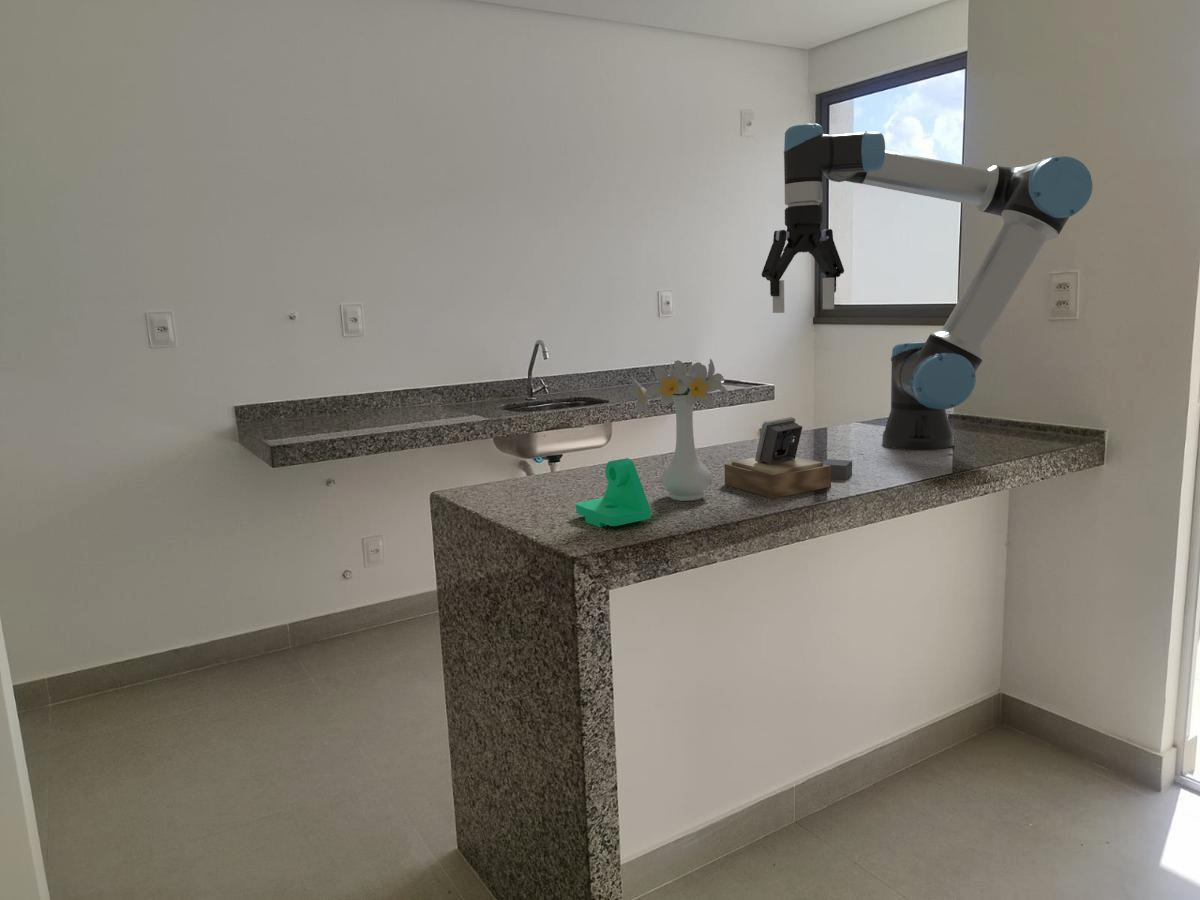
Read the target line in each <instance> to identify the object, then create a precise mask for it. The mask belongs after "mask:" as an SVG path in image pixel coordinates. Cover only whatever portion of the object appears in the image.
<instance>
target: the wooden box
mask: <svg viewBox="0 0 1200 900" xmlns="http://www.w3.org/2000/svg"><path fill="white" fill-rule="evenodd" d="M776 460H779V459H776ZM823 462H824V461H823ZM823 462H822V461H818V460H815V459H814V460H813V459H808V458H805V457H799V456H796V457H795V460H790V461H786V462H782V463H777V464H773V465H769V464H768V463H765V462H762V463H758V462H756V461H755V457H748V458H744V459H738V460H732V461H731V462H730V463H725V464H724V486H729V487H732V488H736V489H737V490H742V491H745V492H748V493H752V494H755V495H760V496H763V497H766V498H770V499H776V498H782V497H786V496H787V497H788V496H792V495H797V494H801V493H806V492H811V491H812V492H813V491H817V490H822V489H826V488H831V487H832V479H831V466H830V465H825V464H823Z"/></svg>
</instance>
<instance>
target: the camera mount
mask: <svg viewBox="0 0 1200 900" xmlns="http://www.w3.org/2000/svg"><path fill="white" fill-rule="evenodd" d="M605 478H606V480H607V487H606V490H605V492H604V496H603V497H599V498H596V499H589V500H584V501H579V502H576V503H575V513H576V514H578V515H581V516H583V517H584V521H585V523H587V524H590V525H592V524H593V525H592V526H595V525H596V526H595V527H597V526H598V527H597V528H603V527H602V526H605V527H618V526H622V525H627V524H631V523H636V522H640V521H646V520H650V519H652V509H651V507H650V504H649V501H648V499H647V495H646V492H645V489H644V487H643V485H642V481H641V479H640V476H639V474H638V471H637V468H636V466H635V463H634V462H633V460H632V459H630V458H628V457H627V458H626V457H625V458H621V459H616V460H609V461H608V462H607V463H606V465H605ZM607 525H609V526H607Z"/></svg>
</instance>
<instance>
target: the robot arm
mask: <svg viewBox="0 0 1200 900" xmlns="http://www.w3.org/2000/svg"><path fill="white" fill-rule="evenodd" d="M783 166H784V167H783V168H784V169H783V170H784V205H786V206H787V207H785V209H784V225H785V226H786V229H779V230H774V232H773V237H772V238H773V239H772V240H773V241H772V244H771V247H770V250H769V252H768V255H767V259H766V260H765V263H764V265H763V268H762V272H761V277H762V278H766V280H767V281H768V282H769V288H770V289H769V290H770V292H769V294H770V297H772V314H774V313H775V314H784V313H785V280H784V279H782V277H783V276H784V274H785V272H786V270H787V269H788V267H789V266H790V263H791V262H792V261H793V260H794V257H795V256H796V255H797V254H799V253H809V254H810V255H811V256H812V257H813V258H814V260H815V262H816V264H817V265H818V267H819V268H820V270H821V271H822V273H823V275H825V277H823V278H822V310H835V293H836V292H837V278H840V277H841V275H842V274H845V273H844V272H845V269H844V265H843V262H842V260H841V257H840V254H839V252H838V249H837V246H836V244H835V241H834V235H833V229H831V228H828V229H821V225H822V223H823V207H822V205H821V204H822V202H823V175H824V177H825V178H826V179H827V180H829V181H831V182H834V183H841V182H847V183H848V182H849V183H855V184H860V185H861V184H863V185H868V186H872V187H877V188H883V189H887V190H893V191H899V192H904V193H907V194H908V193H909V194H914V195H918V196H919V195H920V196H925V197H929V198H935V199H940V200H945V201H950V202H955V203H956V202H957V203H961V204H967V205H972V206H975V207H976V208H977V210H978V211H979V212H982V213H987V214H991V215H996V216H999V217H1000V216H1001V217H1002V220H1003V224H1002V226H1001V228H1000V230H999V232H998V233H997V235H996V237H995V238H994V240H993V242H992V243H991V246H990V247H989V249H988V250H987V252H986V254H985V256H984V257H983V259H982V261H981V262H980V264H979V266H978V267H977V269H976V270H975V272H974V273H973V276H972V277H971V280H970V281H969V282H968V284H967V286H966V287H965V290H964V291H963V293H962V295H961V296H960V298H959V300H958V301H957V303H956V305H955V307H954V308H953V310H952V312H951V313H950V315H949V317H948V318H947V319H946V322H945V324H944V325H943V327H942V328H941V329H939V330H938V331H935V332H931V333H930V334H929V336H928V337H927V339H926V341H918V342H917V341H915V342H905V343H903V342H902V343H897V344H895V345H894V346H893V347H892V350H891V357H890V362H891V373H890V374H891V382H890V383H891V385H890V386H891V387H890V389H891V390H890V391H891V392H890V412H889V415H888V418H887V421H886V424H885V429H884V430H883V433H882V438H881V439H882V441H881V442H882V443H881V444H882V445H883V446H884V447H888V448H892V449H899V450H909V451H911V450H912V451H933V450H934V451H935V450H943V449H947V448H950V447H953V446H954V433H953V431H952V429H951V425H950V422H949V418H948V414H947V411H946V410H949V409H952V408H956V407H957V406H960V405H962V404H963V403H964V402H965V401H967V400H968V399H969V397H970V396H971V394H972V393H973V392H974V389H975V386H976V382H977V378H976V373H977V370H979V368H980V365H982V362H983V360H984V356H983V353H982V347H983V346H984V343H985V342H986V341H987V339H988V337H989V336H990V334H991V332H992V330H993V329H994V327H995V326H996V324H997V322H998V321H999V320H1000V317H1001V316H1002V314H1003V312H1004V311H1005V309H1006V307H1007V306H1008V304H1009V303H1010V301H1011V299H1012V298H1013V296H1014V294H1015V292H1016V291H1017V289H1018V287H1019V286H1020V284H1021V282H1022V280H1023V279H1024V278H1025V276H1026V274H1027V272H1028V271H1029V269H1030V268H1031V266H1032V264H1033V262H1034V261H1035V260H1036V258H1037V256H1038V255H1039V252H1040V251H1041V250H1042V247H1043V246H1044V245H1045V243H1046V242H1047V241H1050V240H1053V239H1056V238H1058V236H1059V235H1060V233H1061V232H1062V230H1063V229H1064V227H1065V225H1066V223H1067V222H1068V221H1069V219H1070V218H1071V217H1072V216H1075V215H1076V214H1078V213H1079V212H1080V211H1081V210H1082V209H1083V208H1084V207H1085V206H1086V205H1087V204H1088V202H1089V200H1090V198H1091V196H1092V193H1093V179H1092V176H1091V172H1090V171H1089V169H1088V167H1087V166H1086V165H1085V164H1084V162H1082V161H1080V160H1078V159H1077V158H1075V157H1072V156H1070V155H1069V156H1068V155H1058V156H1056V155H1053V156H1048V157H1046V158H1044V159H1042V160H1040V161H1038V162H1037V161H1036V162H1033V163H1031V164H1027V165H1023V166H1012V167H1011V166H1001V165H996V164H995V165H992V166H990V167H988V168H982V167H977V166H972V165H967V164H961V163H956V162H950V161H944V160H941V159H939V160H938V159H935V158H929V157H923V156H918V155H911V154H906V153H902V152H896V151H891V150H886V142H885V137H884V135H883V133H882V132H879V131H863V132H851V133H839V134H837V133H836V134H825V133H824V131H823V127H822V125H820V124H818V123H803V124H801V123H800V124H796V125H792V126H790V127H788V128H787V129H786V131H785V133H784V146H783ZM786 241H787V242H786Z"/></svg>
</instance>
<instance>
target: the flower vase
mask: <svg viewBox="0 0 1200 900" xmlns="http://www.w3.org/2000/svg"><path fill="white" fill-rule="evenodd" d="M713 361H714V360H713V359H712V358H711V357H710V359H709V363H708V366H707V367H708V369H707V367H706V365H704V364H702V362H695V363H693V364H692V365H691V366H690V367H689V368H688V369H687V367H686V365H685V364H684V362H683V361H681V360H680V359H677V360H674V363H673V364H672V362H670V365H669V368H668V372H666V370H665V369H663V368H662V367H659V366H657V367H655V369H654V371H653V372H654V376H655V379H656V381H657V382H658V383H655V384H652V385H650V386H649V387H648V388H647V389H646V388H645V387H644V386H642V385H641V384H640V383H639V382H638V381H637V380H636V379H635V378H634V377H633V375H629V379H630V380H631V383H632V385H633V386H629V387H628V393H629V394H630V395H631V396H632V397H633V398H638V399H637V401H636V411H637V413H638V415H640V414H642V411H643V412H644V414H645V416H647V415H648V404H649V399H650V396H652V398H651V401H654V399H656V398H658V397H659V396H660V404H661V405H662V407H667V406H669V404H671V401H673V406H674V411H675V418H676V419H675V420H676V421H675V422H676V425H675V426H676V427H675V428H676V430H675V433H676V435H675V437H676V438H675V450H674V453H673V456H672V459H671V460H670V462H669V464H668V465H667V466H666V467H665V468H664V469H663V471H662V473H661V476H660V484H661V486H662V487H663V488H664V490H665V491H666V492H668V493H669V498H670V500H671V499H672V500H673V501H679V502H690V501H691V502H692V501H697V500H701V499H702V498H704V495H705V493H704V492H706V491H707V490H708V489H709V487H710V486H711V485H712V481H713V478H712V477H713V476H712V473H711V471H710V469H708V467H707V466H706V465H705V464H704V463H703V462H702V461H701V459H700V457H699V456H698V455H699V454H698V453H697V449H696V446H695V445H696V444H695V438H694V421H693V415H694V406H695V404H696V403H697V402H698V399H699V400H700V402H701V403H703V405H704V406H706V407H707V408H708V409H712V408H714V404H715V403H714V398H713V397H712V395H711V394H710V393H711V392H714V391H717V390H718V391H720V392H723V393H724V394H725V395H727V396H730V393H729V391H728V389H727V388H726V387H725V386H723V384H724V382H725V378H724V376H723V375H722V374H721V373H719V372H717V373H715V372H716V371H715V370H716V368H715V365H714V362H713ZM672 365H673V367H672ZM672 368H673V369H672Z"/></svg>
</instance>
